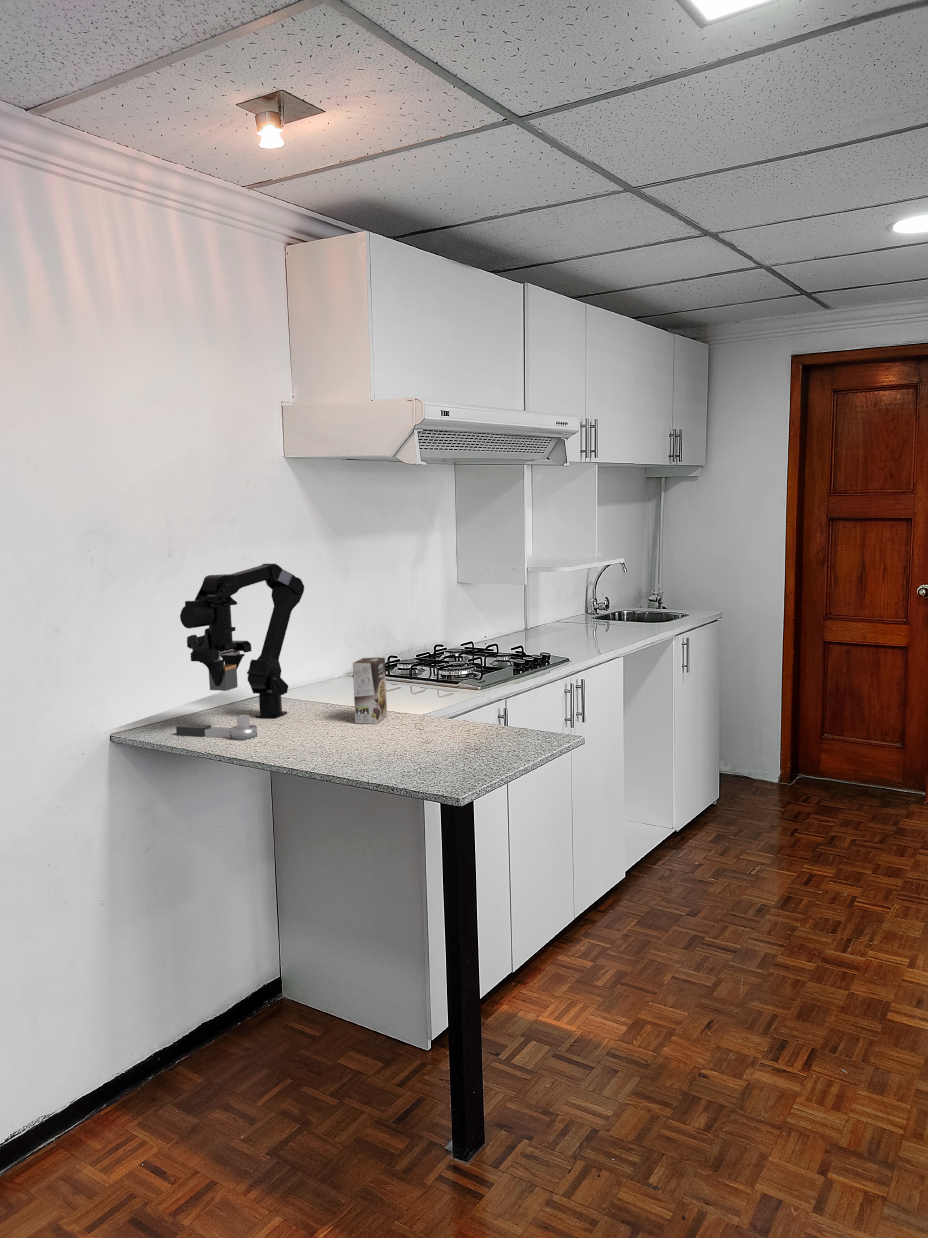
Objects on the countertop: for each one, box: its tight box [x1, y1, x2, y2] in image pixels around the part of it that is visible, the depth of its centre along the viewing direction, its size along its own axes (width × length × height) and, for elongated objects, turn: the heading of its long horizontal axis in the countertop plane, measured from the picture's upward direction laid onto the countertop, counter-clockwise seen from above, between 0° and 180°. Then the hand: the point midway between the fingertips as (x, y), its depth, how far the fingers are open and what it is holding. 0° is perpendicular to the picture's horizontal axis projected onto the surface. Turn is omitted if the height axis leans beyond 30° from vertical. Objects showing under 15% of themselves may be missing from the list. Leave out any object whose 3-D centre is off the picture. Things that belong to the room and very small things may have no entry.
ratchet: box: [175, 714, 258, 741], centre depth 232 cm, size 6×22×5 cm, turn 71°
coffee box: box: [352, 657, 388, 725], centre depth 243 cm, size 9×6×16 cm
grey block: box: [208, 663, 238, 692], centre depth 239 cm, size 5×5×6 cm
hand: (223, 684), depth 239 cm, fingers closed on grey block, 5 cm apart
